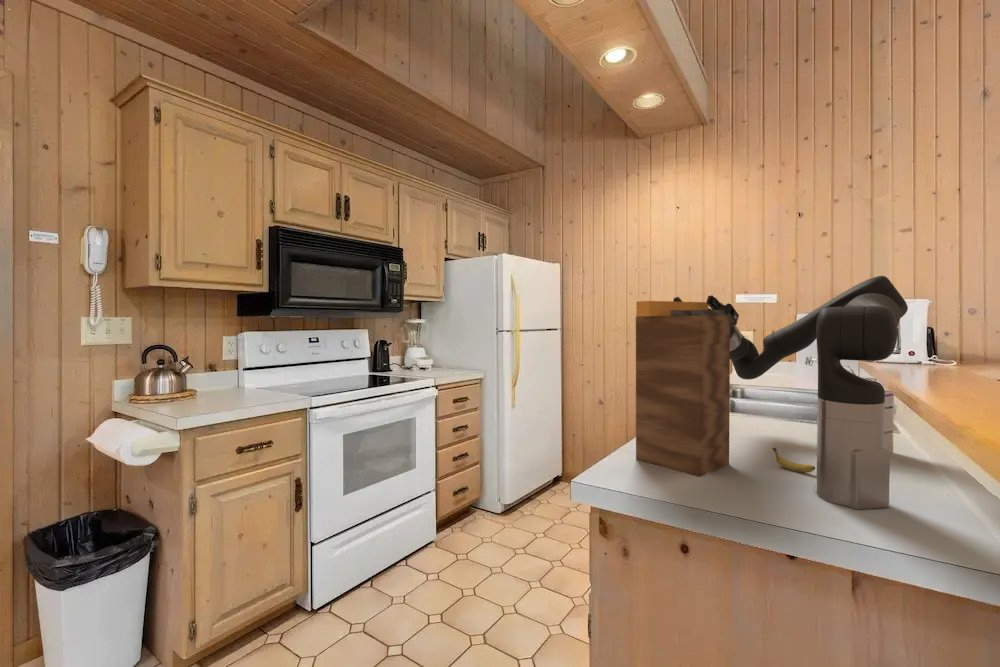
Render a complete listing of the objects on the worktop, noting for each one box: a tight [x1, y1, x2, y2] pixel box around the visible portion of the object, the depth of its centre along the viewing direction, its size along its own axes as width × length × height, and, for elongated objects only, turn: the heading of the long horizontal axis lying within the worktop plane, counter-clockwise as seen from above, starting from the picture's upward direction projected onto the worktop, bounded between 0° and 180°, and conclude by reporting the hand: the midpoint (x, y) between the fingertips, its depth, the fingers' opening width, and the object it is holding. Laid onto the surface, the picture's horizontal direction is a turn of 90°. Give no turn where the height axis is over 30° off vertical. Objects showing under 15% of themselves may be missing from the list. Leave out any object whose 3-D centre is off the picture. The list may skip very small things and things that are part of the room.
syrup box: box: [884, 389, 895, 454], centre depth 108 cm, size 6×6×14 cm
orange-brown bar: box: [635, 300, 709, 317], centre depth 106 cm, size 24×3×3 cm, turn 128°
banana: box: [772, 447, 816, 473], centre depth 96 cm, size 8×2×4 cm, turn 32°
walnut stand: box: [635, 310, 731, 478], centre depth 101 cm, size 12×15×33 cm
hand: (691, 299), depth 110 cm, fingers open, 8 cm apart
